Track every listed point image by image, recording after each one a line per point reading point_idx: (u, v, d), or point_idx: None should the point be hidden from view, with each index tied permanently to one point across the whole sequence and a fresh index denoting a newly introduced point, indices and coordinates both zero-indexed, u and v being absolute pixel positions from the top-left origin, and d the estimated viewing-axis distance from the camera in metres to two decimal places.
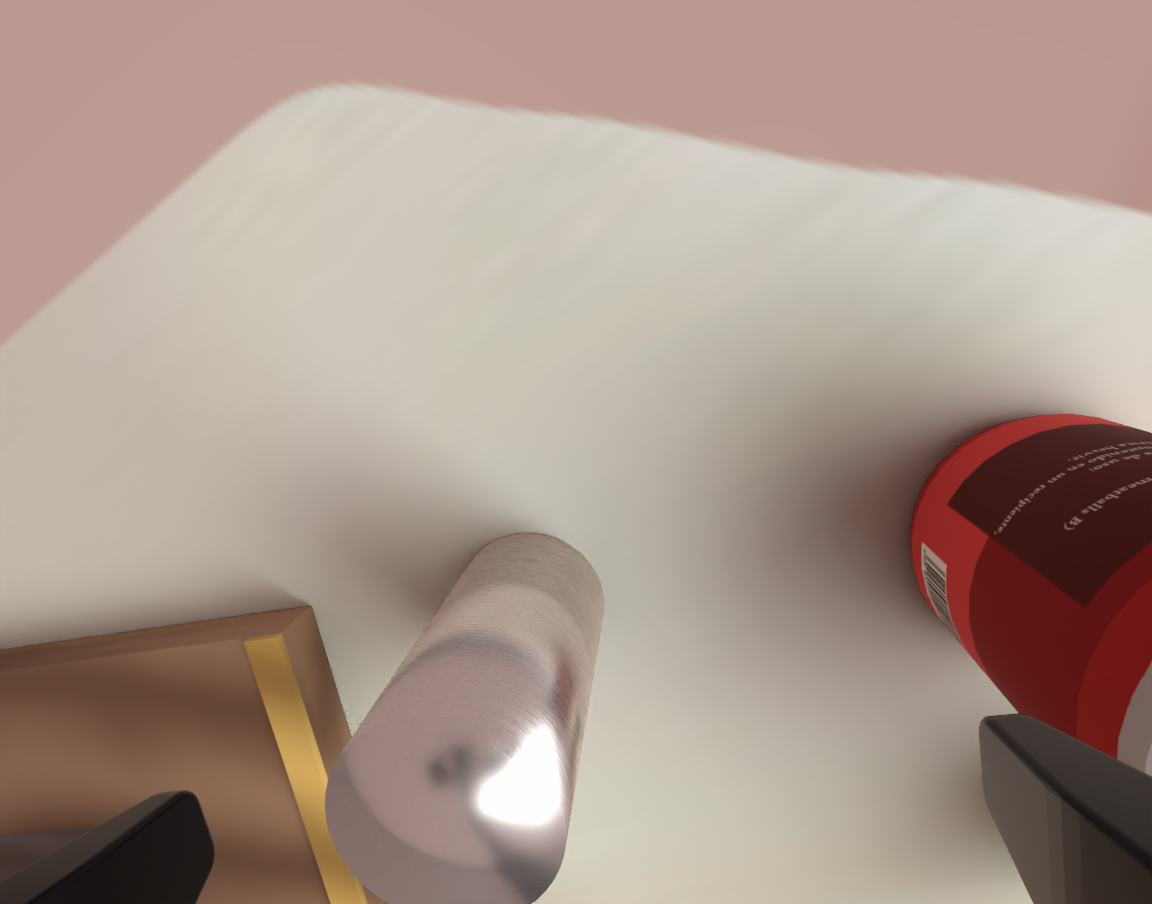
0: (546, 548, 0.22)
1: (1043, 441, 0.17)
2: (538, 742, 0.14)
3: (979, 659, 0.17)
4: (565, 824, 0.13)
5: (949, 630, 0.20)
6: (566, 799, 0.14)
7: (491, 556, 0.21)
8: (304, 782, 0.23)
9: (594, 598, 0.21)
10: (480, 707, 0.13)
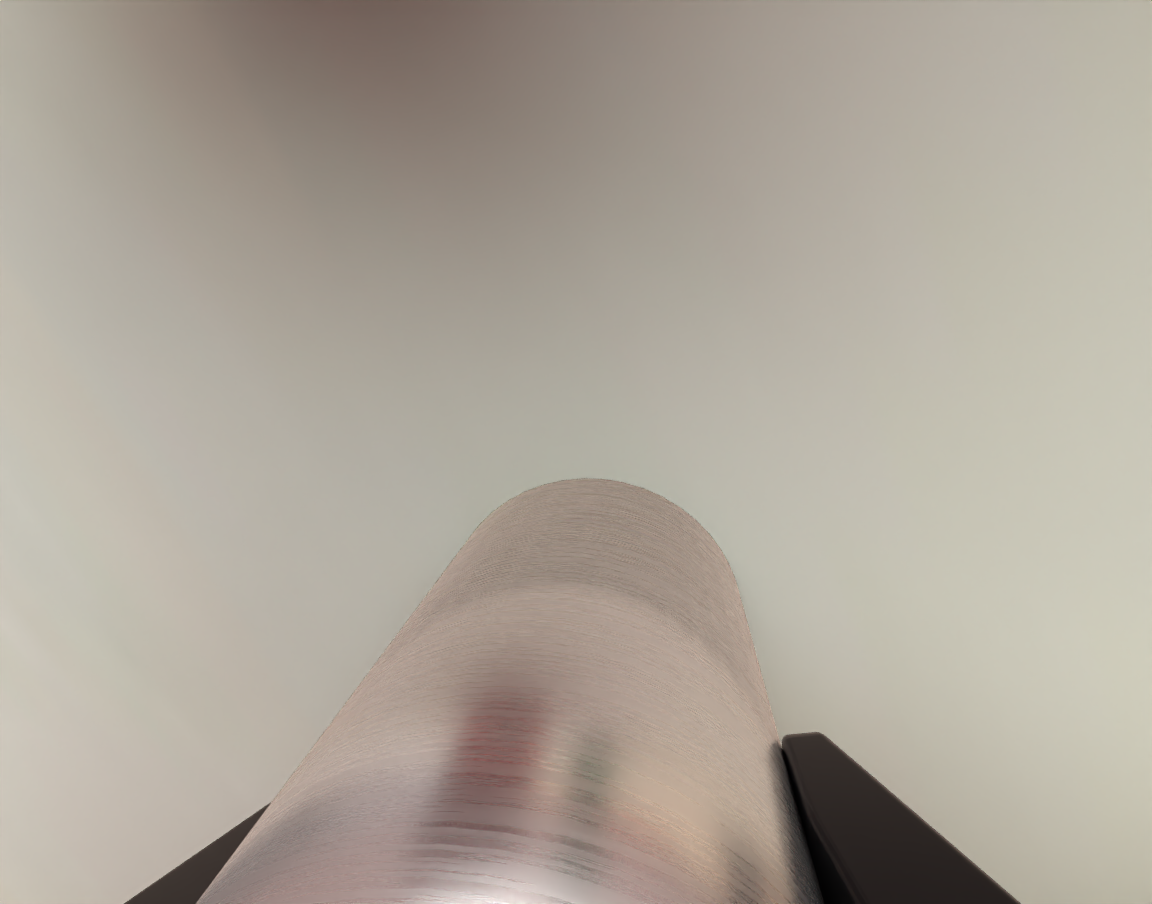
0: None
1: None
2: None
3: None
4: None
5: None
6: None
7: None
8: None
9: (515, 518, 0.10)
10: None
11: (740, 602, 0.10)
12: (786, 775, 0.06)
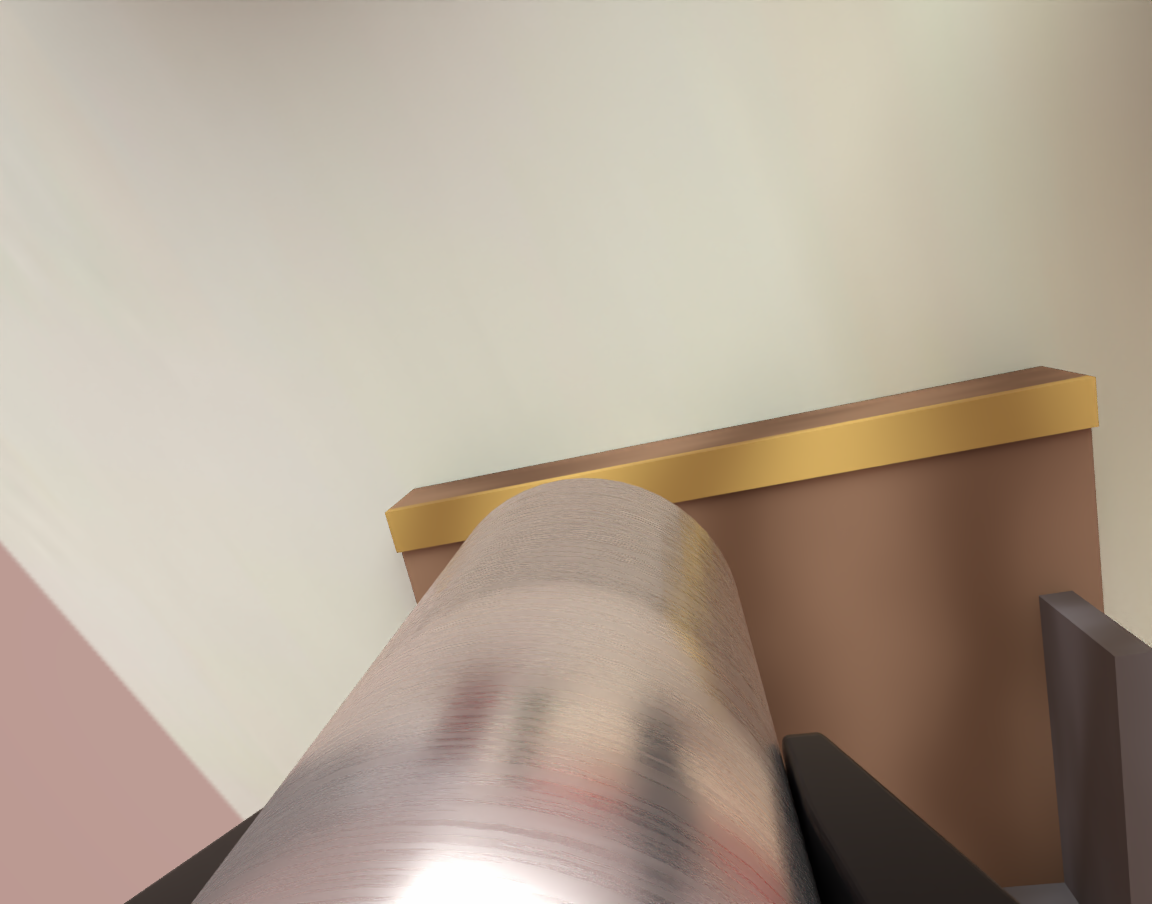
0: None
1: None
2: None
3: None
4: None
5: None
6: None
7: None
8: None
9: (513, 518, 0.10)
10: None
11: (738, 602, 0.10)
12: (783, 774, 0.06)
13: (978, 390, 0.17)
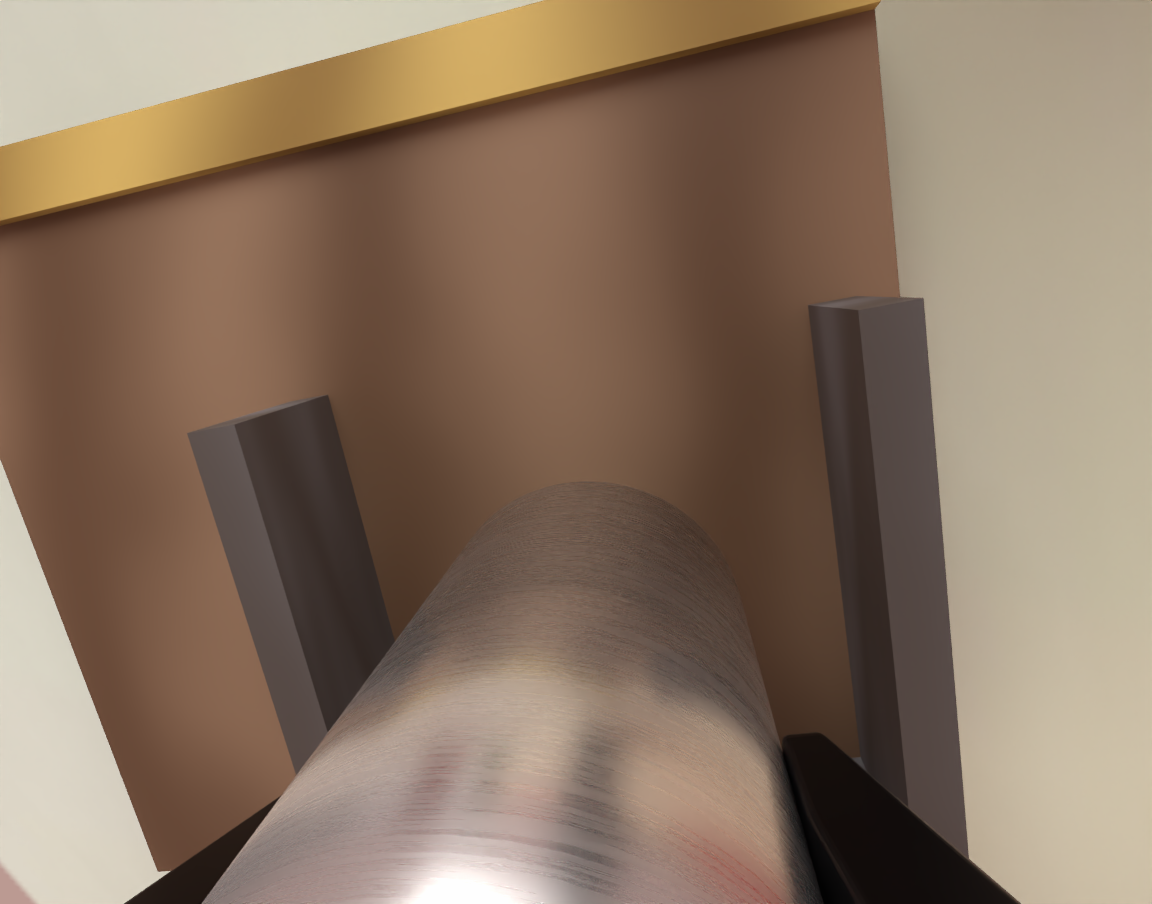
0: None
1: None
2: None
3: None
4: None
5: None
6: None
7: None
8: (143, 152, 0.12)
9: (516, 521, 0.10)
10: None
11: (741, 605, 0.10)
12: (787, 780, 0.06)
13: None
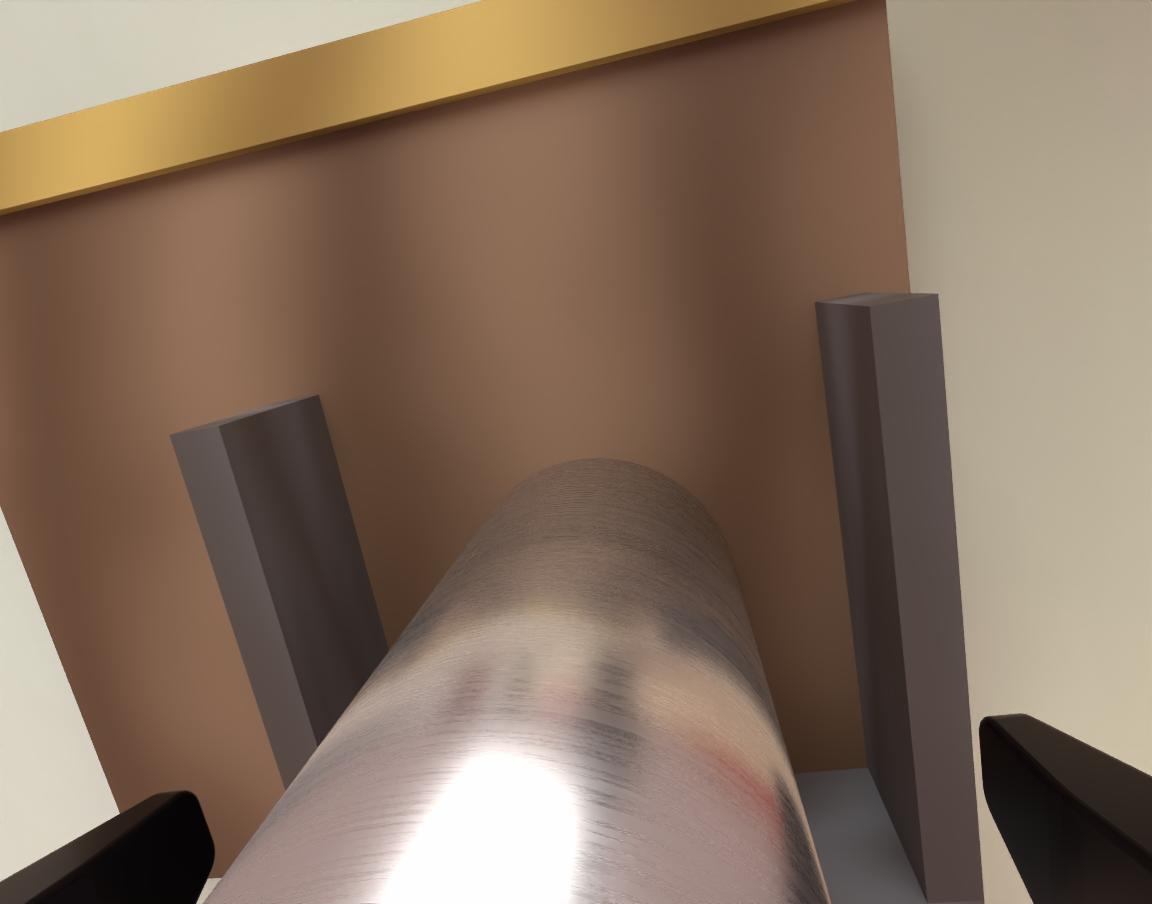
0: None
1: None
2: None
3: None
4: None
5: None
6: None
7: None
8: (126, 143, 0.12)
9: (535, 490, 0.11)
10: None
11: (731, 564, 0.11)
12: (766, 686, 0.08)
13: None
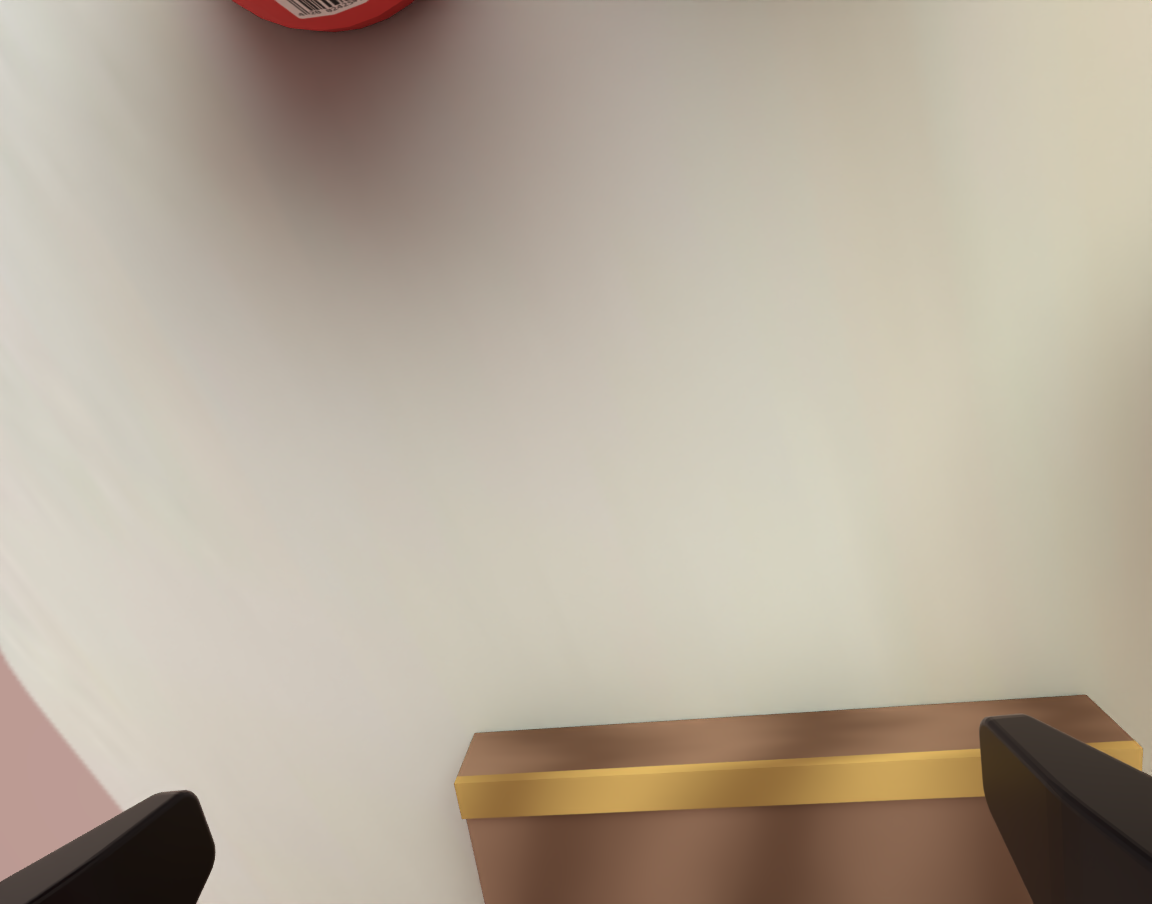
0: None
1: None
2: None
3: None
4: None
5: None
6: None
7: None
8: (645, 794, 0.19)
9: None
10: None
11: None
12: None
13: None
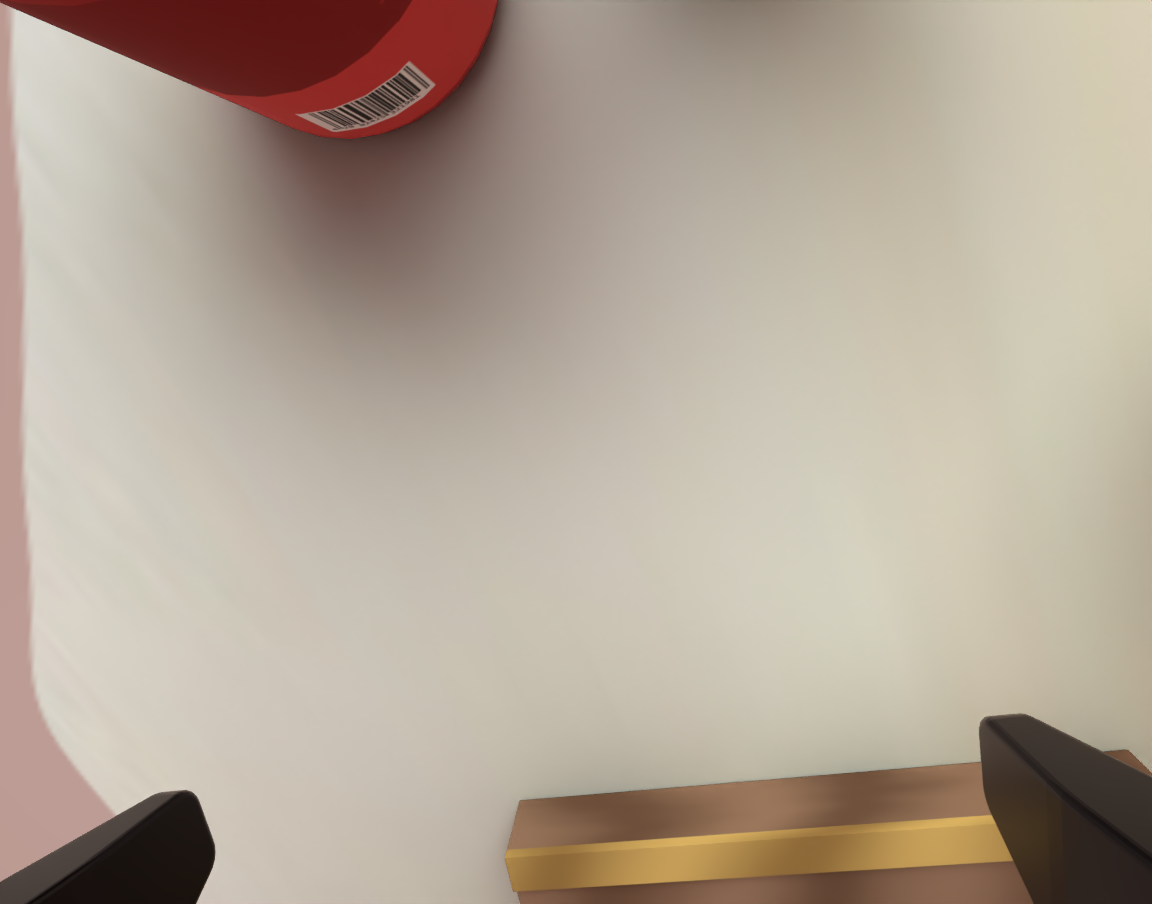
0: None
1: None
2: None
3: (353, 66, 0.13)
4: None
5: (446, 77, 0.16)
6: None
7: None
8: (694, 865, 0.19)
9: None
10: None
11: None
12: None
13: None
